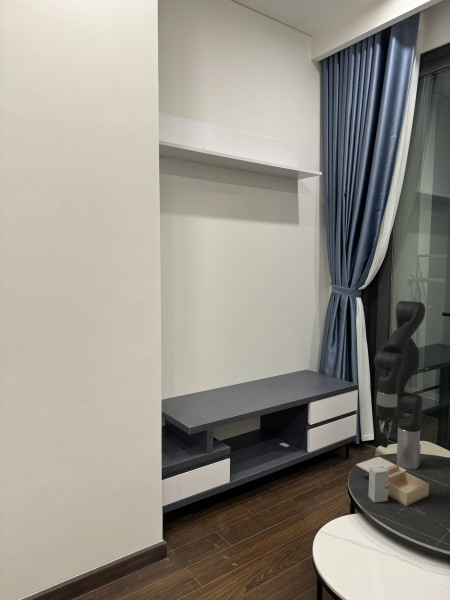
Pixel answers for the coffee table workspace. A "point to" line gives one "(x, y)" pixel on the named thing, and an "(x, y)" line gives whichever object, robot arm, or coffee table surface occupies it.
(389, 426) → the robot arm
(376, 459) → the lid
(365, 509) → the coffee table surface
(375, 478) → the skincare box
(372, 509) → the coffee table surface
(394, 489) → the box
